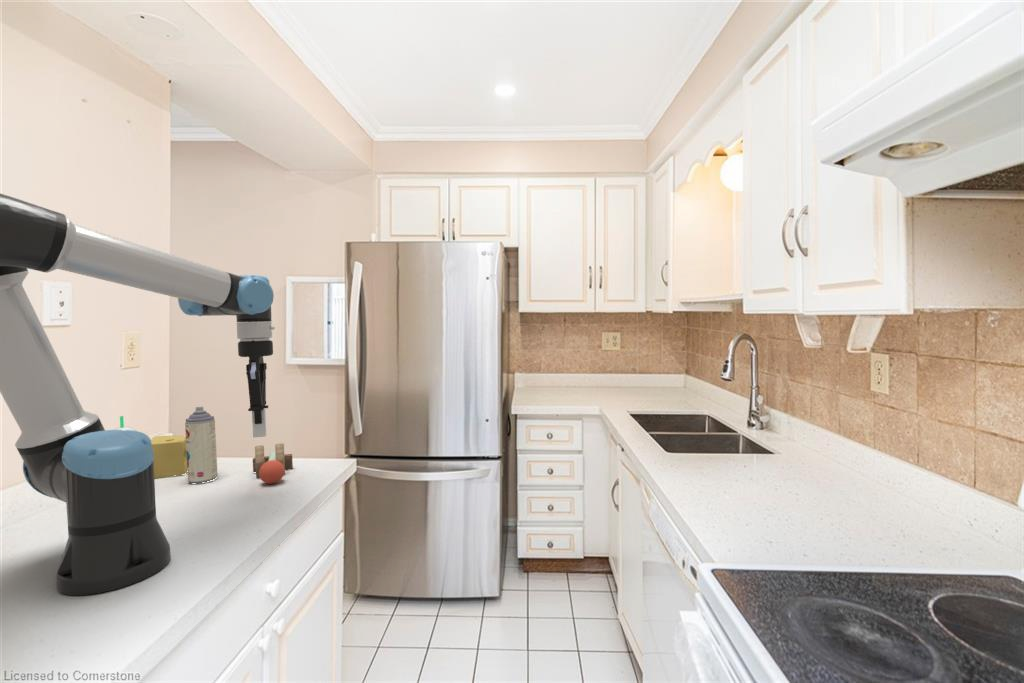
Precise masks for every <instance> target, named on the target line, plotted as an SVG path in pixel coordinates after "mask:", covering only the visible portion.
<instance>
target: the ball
mask: <svg viewBox="0 0 1024 683" xmlns="http://www.w3.org/2000/svg"><path fill="white" fill-rule="evenodd" d="M259 476H260V478H259V479H260V480H261V481H262V482H263V483H265V484H269V485H273V484H277V483H279V481H281V480H282V479H283V477H284V476H285V475H284V466H283V465H282V463H280V462H279V461H276V460H270V461H267V462H265V463H264V464H263V465H262V466H261V468H260V470H259Z"/></svg>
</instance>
